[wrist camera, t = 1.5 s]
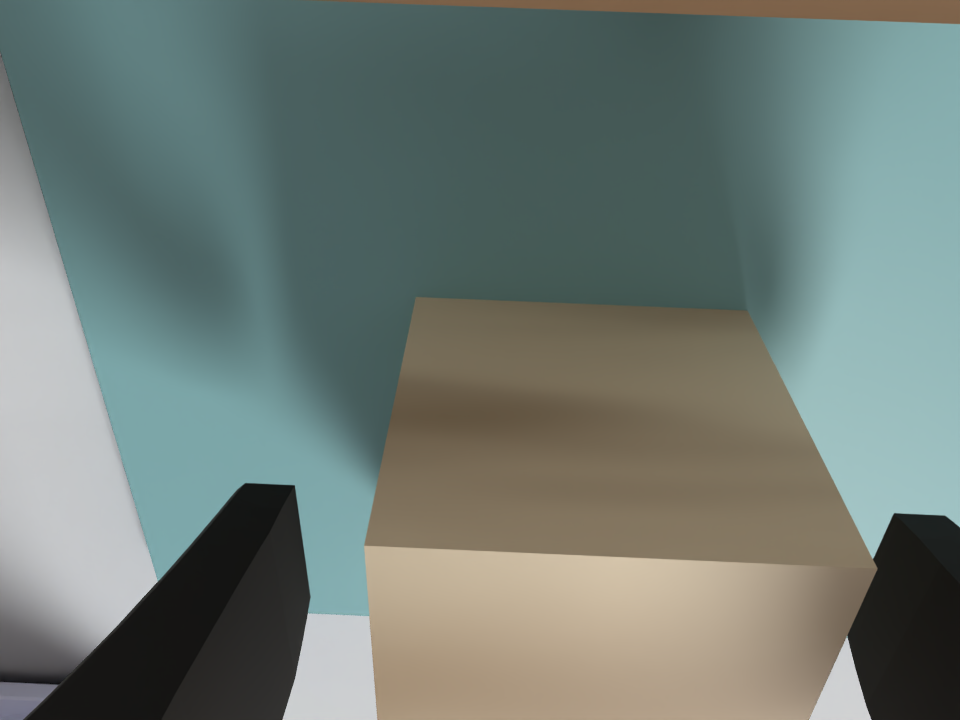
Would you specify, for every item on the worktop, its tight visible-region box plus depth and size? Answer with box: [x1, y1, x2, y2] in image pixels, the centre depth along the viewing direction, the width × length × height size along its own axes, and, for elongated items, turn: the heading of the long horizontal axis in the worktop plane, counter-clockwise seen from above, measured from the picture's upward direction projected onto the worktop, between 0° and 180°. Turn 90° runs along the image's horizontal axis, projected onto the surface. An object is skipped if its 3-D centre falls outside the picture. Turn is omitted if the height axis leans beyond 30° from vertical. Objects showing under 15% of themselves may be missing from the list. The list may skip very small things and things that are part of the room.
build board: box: [0, 0, 960, 638], centre depth 9 cm, size 19×14×1 cm
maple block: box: [364, 297, 877, 720], centre depth 10 cm, size 4×4×4 cm
